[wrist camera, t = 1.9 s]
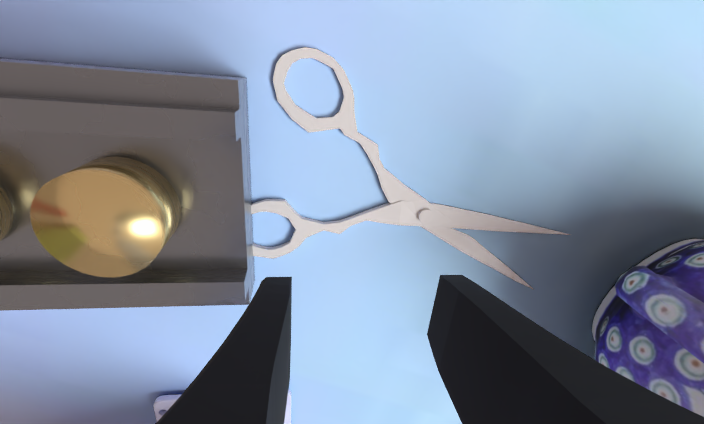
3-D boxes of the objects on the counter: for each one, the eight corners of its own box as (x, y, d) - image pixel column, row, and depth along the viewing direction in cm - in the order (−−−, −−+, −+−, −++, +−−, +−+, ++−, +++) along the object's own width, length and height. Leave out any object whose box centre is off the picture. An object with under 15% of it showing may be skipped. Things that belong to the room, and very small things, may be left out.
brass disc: (186, 249, 14) (170, 276, 13) (83, 249, 14) (49, 278, 12) (173, 158, 13) (152, 174, 11) (55, 154, 12) (12, 170, 10)
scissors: (247, 17, 13) (615, 187, 18) (250, 19, 13) (603, 182, 19) (186, 246, 16) (510, 333, 22) (191, 239, 17) (503, 324, 22)
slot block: (254, 279, 18) (246, 318, 15) (-57, 283, 16) (-133, 330, 13) (246, 77, 14) (233, 81, 11) (-174, 44, 12) (-320, 38, 9)
